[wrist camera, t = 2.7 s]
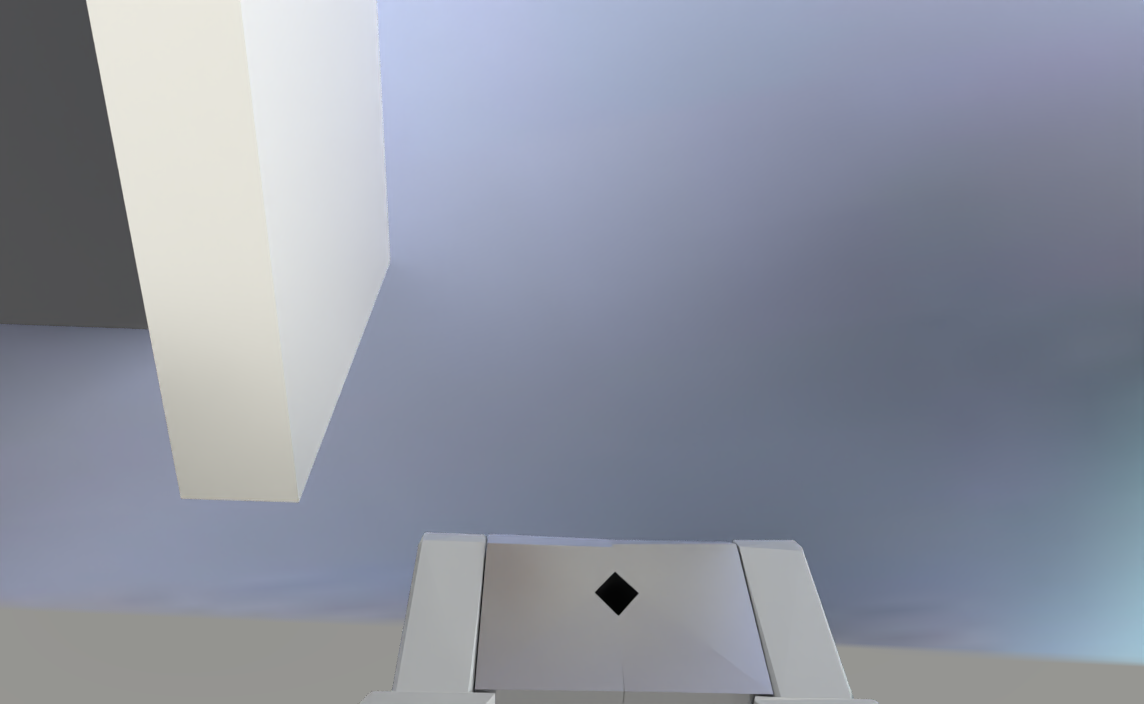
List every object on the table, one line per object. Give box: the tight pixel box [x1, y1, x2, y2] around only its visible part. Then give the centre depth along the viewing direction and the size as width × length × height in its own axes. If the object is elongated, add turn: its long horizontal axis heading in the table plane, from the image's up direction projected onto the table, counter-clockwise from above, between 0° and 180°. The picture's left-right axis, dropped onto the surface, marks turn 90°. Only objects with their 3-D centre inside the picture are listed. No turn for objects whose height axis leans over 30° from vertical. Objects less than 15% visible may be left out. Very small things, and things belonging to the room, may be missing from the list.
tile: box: [86, 0, 390, 502], centre depth 19 cm, size 2×10×10 cm, turn 178°
